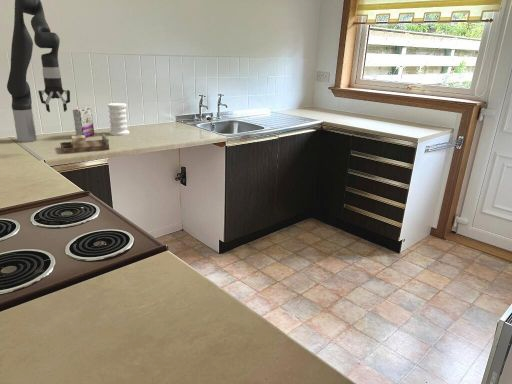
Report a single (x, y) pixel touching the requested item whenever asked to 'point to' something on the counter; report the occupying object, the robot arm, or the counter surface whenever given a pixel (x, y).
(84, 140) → the maple block
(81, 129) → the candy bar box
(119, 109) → the decorative container
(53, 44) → the robot arm
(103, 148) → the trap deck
